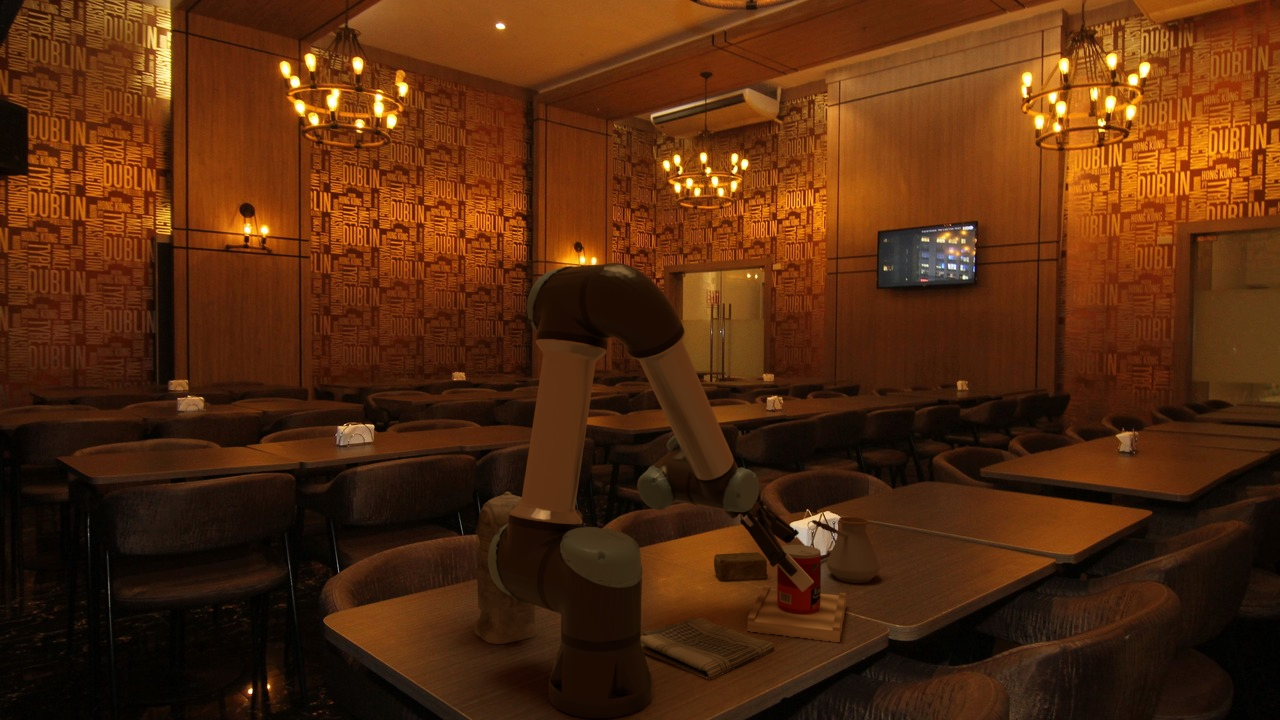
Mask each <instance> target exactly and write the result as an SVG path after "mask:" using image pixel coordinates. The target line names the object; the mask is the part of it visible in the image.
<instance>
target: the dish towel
mask: <svg viewBox="0 0 1280 720" xmlns="http://www.w3.org/2000/svg"><path fill="white" fill-rule="evenodd" d="M641 645H642V648H643V651H644V654H645V655H648V656H650V655H651V657H653V658H655V657H656V659H658V660H660V659H661V660H660V661H663V660H664V661H663V662H665V661H666V663H668V662H669V663H668V664H670V663H671V665H673V664H674V665H673V666H675V665H676V666H675V667H677V666H678V668H679V667H680V668H679V669H682V670H685V671H687V672H689V671H690V672H689V673H691V672H692V673H691V674H694V673H695V674H694V675H696V674H697V676H699V675H700V676H699V677H701V676H703V677H704V678H703V677H702V678H703V679H705V678H706V677H707V679H710V680H712V678H713V679H715V678H717V677H719V676H718V675H720V676H721V674H722V673H724V674H726V673H728V672H727V671H729V670H731V669H733V668H735V669H737V668H739V667H738V666H740V665H742V664H744V665H745V663H746V662H748V661H750V662H752V661H751V660H753V659H755V658H757V657H760V656H762V655H764V654H766V655H768V654H770V653H771V652H770V651H772V650H774V651H775V647H774V643H773V642H772V641H768V640H764V639H760V638H755V637H753V636H750V635H747V634H744V633H740V632H738V631H736V630H734V629H731V628H729V627H726V626H722V625H720V624H717V623H714V622H711V621H709V620H708V619H706V618H705V617H699V618H697V617H691V618H688V619H685V620H682V621H681V622H677V623H673V624H671V623H670V624H667V625H664V626H662V627H658V628H655V629H652V630H647V631H646V630H645V631H642V635H641ZM769 652H770V653H769ZM772 652H773V651H772ZM767 653H768V654H767ZM764 656H765V655H764ZM762 657H763V656H762ZM760 658H761V657H760ZM757 659H758V658H757ZM755 660H756V659H755ZM753 661H754V660H753ZM748 663H749V662H748ZM746 664H747V663H746ZM742 666H743V665H742ZM736 667H737V668H736ZM740 667H741V666H740ZM733 670H734V669H733ZM731 671H732V670H731ZM725 672H726V673H725ZM729 672H730V671H729ZM722 675H723V674H722ZM716 676H717V677H716ZM714 677H715V678H714ZM707 679H706V680H707Z"/></svg>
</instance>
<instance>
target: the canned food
mask: <svg viewBox="0 0 1280 720" xmlns="http://www.w3.org/2000/svg"><path fill="white" fill-rule="evenodd" d="M781 547H782V549H783V550H784V552H785V553H786V555H787V554H789V555H790V556H791V557H792V558H793V559H794V560H795V561H796V563H797V564H798V565H799V566H800V567H801V568H802V569H803V570H804V571H805V572H806V573H807V574H808V576H809V577H810V578H811V579H812V580H813V581H814V583H813V584H811V585H810V586H809V587H808V588H807V589H806V590H805V591H803V592H802V591H801V590H800V589H799V588H798V587H797V586H796V585H795V583H794V582H793V581H792V580H791V579H790V578H789V577H788V576H787V575H786V574H785V573H784V571H783V570H782V569H781V568H780V567H779V566H778V565H777V564H776V566H777V571H776V573H777V575H776V576H777V577H776V578H777V583H776V586H777V603H778V606H779V608H780V609H782V610H783V611H786V612H789V613H794V614H812V613H815V612H817V611H818V610H819V608H820V594H822V593H821V582H822V581H821V577H822V576H821V575H822V555H821V553H822V552H821V549H819V548H818V547H815V546H811V545H805V544H804V545H787V544H785V545H784V544H783V545H781Z"/></svg>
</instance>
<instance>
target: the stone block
mask: <svg viewBox="0 0 1280 720" xmlns="http://www.w3.org/2000/svg"><path fill="white" fill-rule="evenodd" d="M767 562H768V561H767V558H766V556H765V555H764V554H763V555H762V553H760V552H757V551H756V552H737V553H735V552H733V553H718V554H715V555H714V558H713V568H714V572H715V575H716V576H717V578H718V579H719V580H720V581H722V582H732V581H734V582H736V581H739V582H740V581H760V580H766V579H767V578H768V565H767V564H768V563H767Z"/></svg>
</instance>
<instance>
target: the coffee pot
mask: <svg viewBox="0 0 1280 720" xmlns="http://www.w3.org/2000/svg"><path fill="white" fill-rule="evenodd" d="M838 522H839V523H840V525H841V530H838V529H836V528H834V527H832V526H831V525H829V524H827V523H823V522H822V521H821V520H816V519H812V520H811V521H808V523H807V525H809V524H810V523H812V524H814V525H815V527H814V528H810V527H809V526H807V528H808V529H809V530H811V531H813V530H816V529H817V528H822V530H825V531H826V532H830V533H833V534H836V535H838V536H837V539H836V540H835V543H834V545H833V547H832V550H831V551H830V553H829V556H828V559H827V561H826V566H827V569H828V570H829V571H830V572H831V574H832V575H834V576H835V578H836V579H837V580H839V581H841V582H846V583H852V584H853V583H856V584H857V583H858V584H859V583H860V584H862V583H863V584H864V583H868V582H870V581H872V579H873V578H875V577H876V576H877V575H878V574H879V572H880V570H881V565H880V563H879V560H878V558H877V556H876V552H875V550H874V548H873V546H872V542H871V540H870V538H869V535H868V533H867V530H866V529H867V527H868V526H867V525H868V524H869V523H870V521H869V519H866V518H863V517H858V516H857V517H855V516H846V517H844V516H843V517H839V519H838Z"/></svg>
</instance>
